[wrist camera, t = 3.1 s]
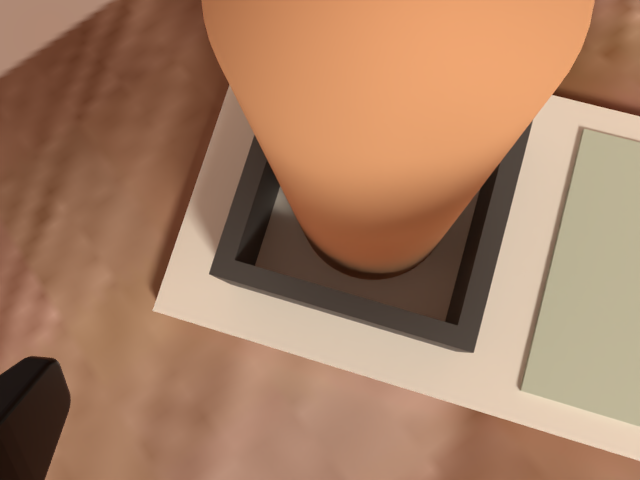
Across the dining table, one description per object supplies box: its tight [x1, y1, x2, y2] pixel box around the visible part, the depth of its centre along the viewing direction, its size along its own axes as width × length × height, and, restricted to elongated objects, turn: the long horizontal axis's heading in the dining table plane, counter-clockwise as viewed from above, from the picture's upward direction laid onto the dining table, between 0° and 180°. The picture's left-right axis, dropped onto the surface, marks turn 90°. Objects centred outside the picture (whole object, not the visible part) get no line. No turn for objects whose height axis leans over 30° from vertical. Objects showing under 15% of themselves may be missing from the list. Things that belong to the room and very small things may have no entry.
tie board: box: [153, 85, 640, 461], centre depth 19 cm, size 23×11×4 cm, turn 73°
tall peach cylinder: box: [201, 0, 595, 280], centre depth 14 cm, size 5×5×13 cm
